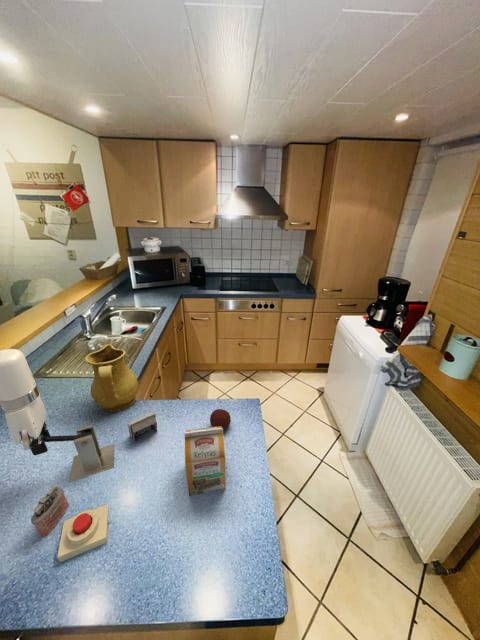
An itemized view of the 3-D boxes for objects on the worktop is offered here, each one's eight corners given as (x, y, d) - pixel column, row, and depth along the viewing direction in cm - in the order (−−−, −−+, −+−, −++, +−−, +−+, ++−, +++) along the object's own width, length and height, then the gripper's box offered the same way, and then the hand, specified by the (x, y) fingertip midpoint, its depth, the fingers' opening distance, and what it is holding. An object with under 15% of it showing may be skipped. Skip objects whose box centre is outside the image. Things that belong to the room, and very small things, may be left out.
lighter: (48, 541, 61) (35, 517, 57) (36, 538, 62) (22, 514, 57) (74, 506, 68) (64, 482, 64) (63, 503, 69) (52, 480, 65)
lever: (29, 449, 67) (30, 439, 67) (33, 439, 70) (34, 430, 69) (89, 445, 74) (90, 437, 73) (90, 437, 77) (92, 428, 76)
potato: (212, 418, 97) (211, 404, 94) (231, 419, 97) (231, 405, 94) (208, 433, 91) (207, 419, 88) (229, 435, 90) (229, 421, 87)
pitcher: (149, 389, 111) (137, 341, 100) (125, 423, 95) (107, 371, 84) (114, 385, 114) (99, 338, 103) (85, 417, 98) (63, 366, 86)
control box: (59, 562, 58) (54, 553, 56) (66, 525, 64) (62, 516, 63) (107, 542, 61) (104, 533, 60) (109, 508, 68) (106, 500, 66)
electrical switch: (155, 425, 94) (153, 408, 89) (161, 435, 90) (158, 418, 86) (129, 437, 89) (125, 420, 84) (134, 449, 85) (130, 431, 81)
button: (73, 536, 59) (71, 532, 58) (75, 520, 62) (73, 516, 61) (90, 530, 60) (88, 526, 60) (92, 514, 63) (90, 510, 63)
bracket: (69, 484, 74) (56, 452, 68) (74, 458, 81) (62, 427, 75) (114, 469, 78) (105, 438, 72) (115, 446, 85) (107, 416, 80)
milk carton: (221, 457, 82) (221, 413, 74) (225, 489, 73) (225, 444, 65) (189, 461, 81) (184, 418, 73) (188, 496, 71) (183, 450, 63)
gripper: (13, 380, 68) (35, 429, 76) (-15, 425, 55) (16, 479, 62) (46, 374, 71) (64, 421, 79) (27, 415, 57) (51, 468, 65)
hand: (42, 446), depth 70 cm, fingers closed on lever, 3 cm apart
